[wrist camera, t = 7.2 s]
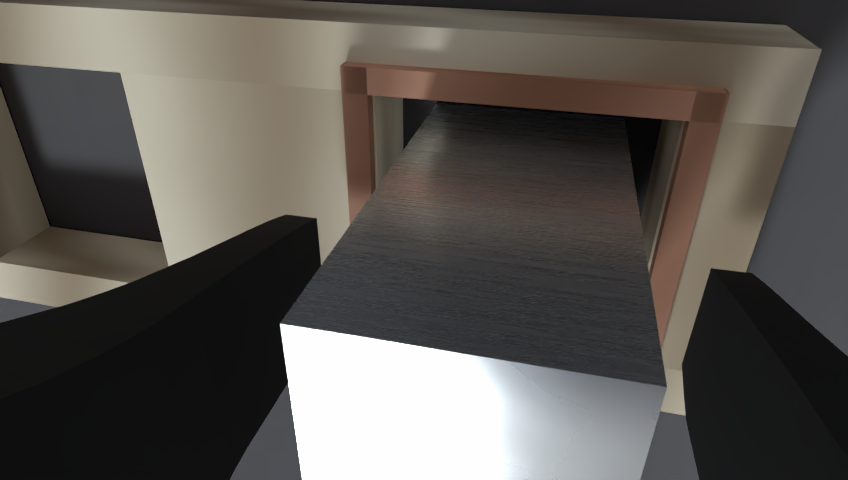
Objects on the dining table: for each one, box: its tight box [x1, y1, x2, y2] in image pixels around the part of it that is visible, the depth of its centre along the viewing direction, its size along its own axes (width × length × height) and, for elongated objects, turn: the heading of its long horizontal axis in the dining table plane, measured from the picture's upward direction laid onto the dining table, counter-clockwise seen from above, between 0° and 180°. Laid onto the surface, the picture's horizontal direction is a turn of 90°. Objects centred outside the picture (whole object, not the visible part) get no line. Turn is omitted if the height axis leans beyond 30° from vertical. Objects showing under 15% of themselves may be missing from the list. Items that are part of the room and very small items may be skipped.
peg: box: [280, 103, 667, 480], centre depth 10 cm, size 4×4×8 cm
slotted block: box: [0, 0, 822, 415], centre depth 14 cm, size 20×8×2 cm, turn 89°
